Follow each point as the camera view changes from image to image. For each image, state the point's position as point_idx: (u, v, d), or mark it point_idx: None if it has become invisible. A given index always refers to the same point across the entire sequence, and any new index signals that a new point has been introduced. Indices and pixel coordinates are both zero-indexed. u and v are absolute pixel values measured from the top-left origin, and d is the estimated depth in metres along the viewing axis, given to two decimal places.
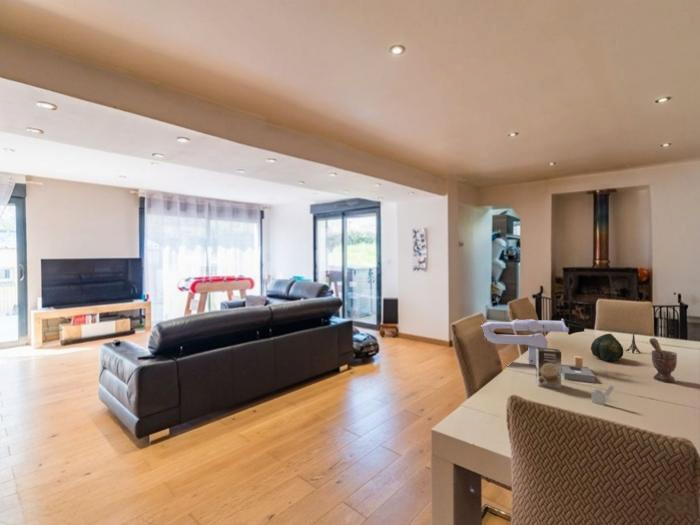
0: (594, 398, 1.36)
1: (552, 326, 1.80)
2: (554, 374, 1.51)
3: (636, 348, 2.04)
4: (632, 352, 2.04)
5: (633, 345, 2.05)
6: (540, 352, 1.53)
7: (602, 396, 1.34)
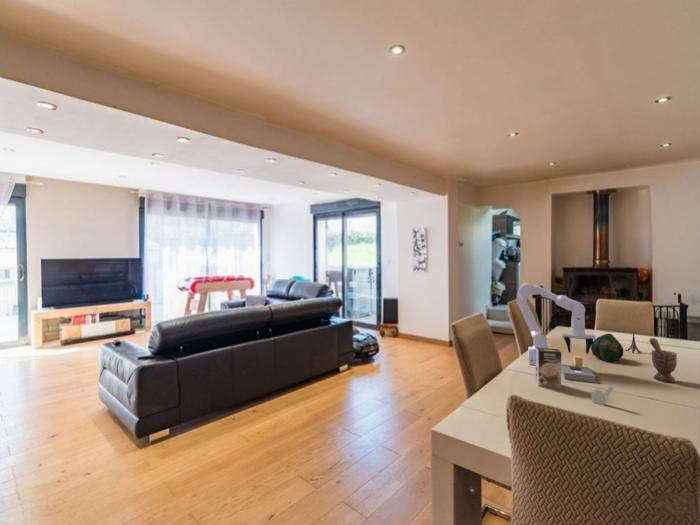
0: (594, 398, 1.36)
1: (579, 326, 1.74)
2: (554, 374, 1.51)
3: (636, 348, 2.04)
4: (632, 352, 2.04)
5: (633, 345, 2.05)
6: (540, 352, 1.53)
7: (602, 396, 1.34)
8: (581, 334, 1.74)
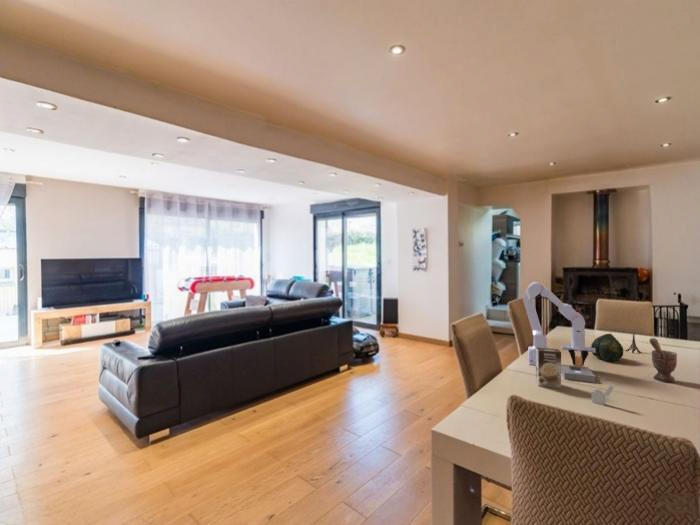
0: (594, 398, 1.36)
1: (579, 339, 1.74)
2: (554, 374, 1.51)
3: (636, 348, 2.04)
4: (632, 352, 2.04)
5: (633, 345, 2.05)
6: (540, 352, 1.53)
7: (602, 396, 1.34)
8: (581, 347, 1.74)
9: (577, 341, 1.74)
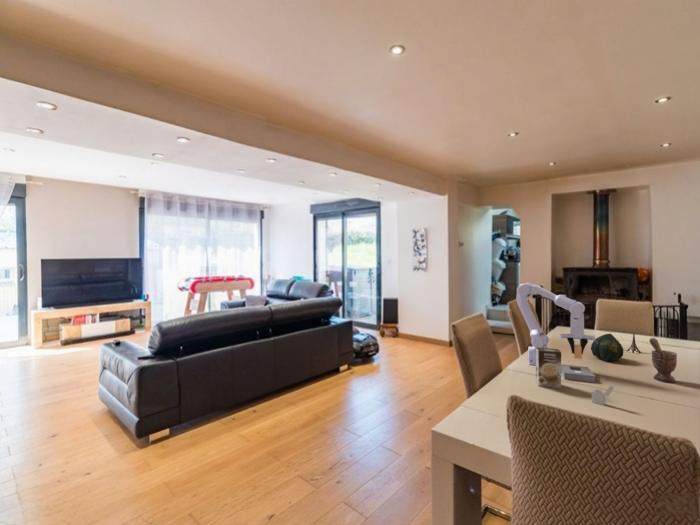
0: (594, 398, 1.36)
1: (576, 326, 1.71)
2: (554, 374, 1.51)
3: (636, 348, 2.05)
4: (632, 352, 2.04)
5: (633, 345, 2.05)
6: (540, 352, 1.53)
7: (602, 396, 1.34)
8: (580, 334, 1.70)
9: (576, 329, 1.71)
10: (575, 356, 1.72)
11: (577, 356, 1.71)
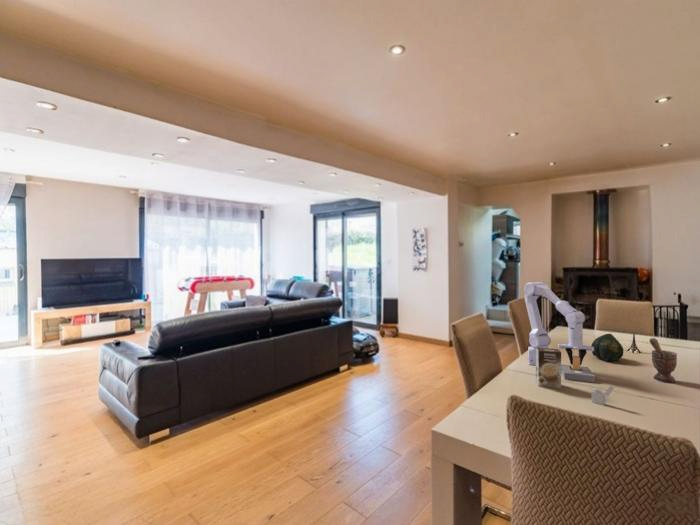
0: (594, 398, 1.36)
1: (572, 336, 1.66)
2: (554, 374, 1.51)
3: (636, 348, 2.05)
4: (632, 352, 2.04)
5: (633, 345, 2.05)
6: (540, 352, 1.53)
7: (602, 396, 1.34)
8: (579, 345, 1.65)
9: (574, 339, 1.65)
10: (573, 367, 1.67)
11: (575, 367, 1.66)
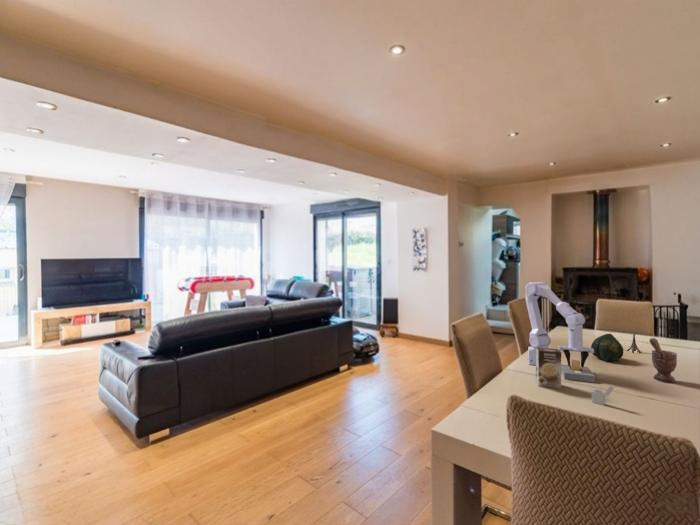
0: (594, 398, 1.36)
1: (572, 338, 1.66)
2: (554, 374, 1.51)
3: (636, 348, 2.05)
4: (632, 352, 2.04)
5: (633, 345, 2.05)
6: (540, 352, 1.53)
7: (602, 396, 1.34)
8: (579, 347, 1.65)
9: (574, 341, 1.65)
10: None
11: None
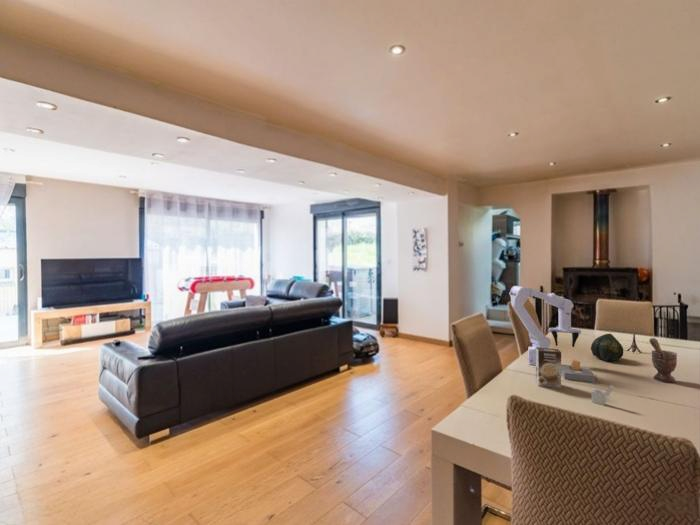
0: (594, 398, 1.36)
1: (568, 321, 1.82)
2: (554, 374, 1.51)
3: (637, 348, 2.05)
4: (633, 352, 2.04)
5: (634, 345, 2.05)
6: (540, 352, 1.53)
7: (602, 396, 1.34)
8: (567, 328, 1.82)
9: (563, 323, 1.83)
10: None
11: None
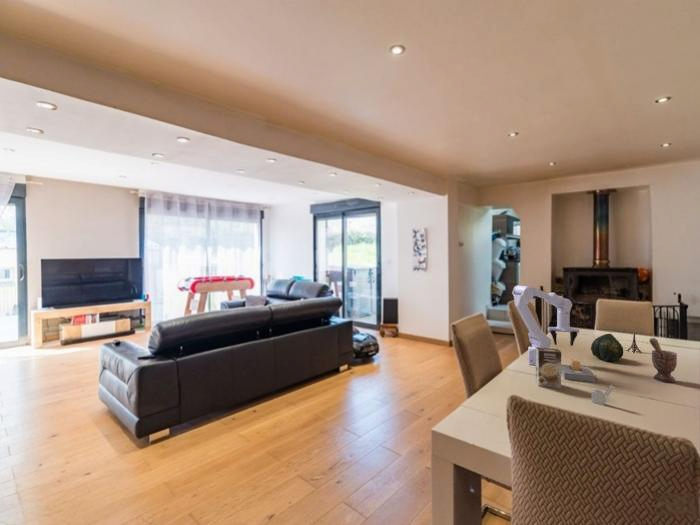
0: (594, 398, 1.36)
1: (567, 320, 1.85)
2: (554, 374, 1.51)
3: (637, 348, 2.05)
4: (633, 352, 2.04)
5: (634, 345, 2.05)
6: (540, 352, 1.53)
7: (602, 396, 1.34)
8: (566, 327, 1.85)
9: (563, 322, 1.85)
10: None
11: None
